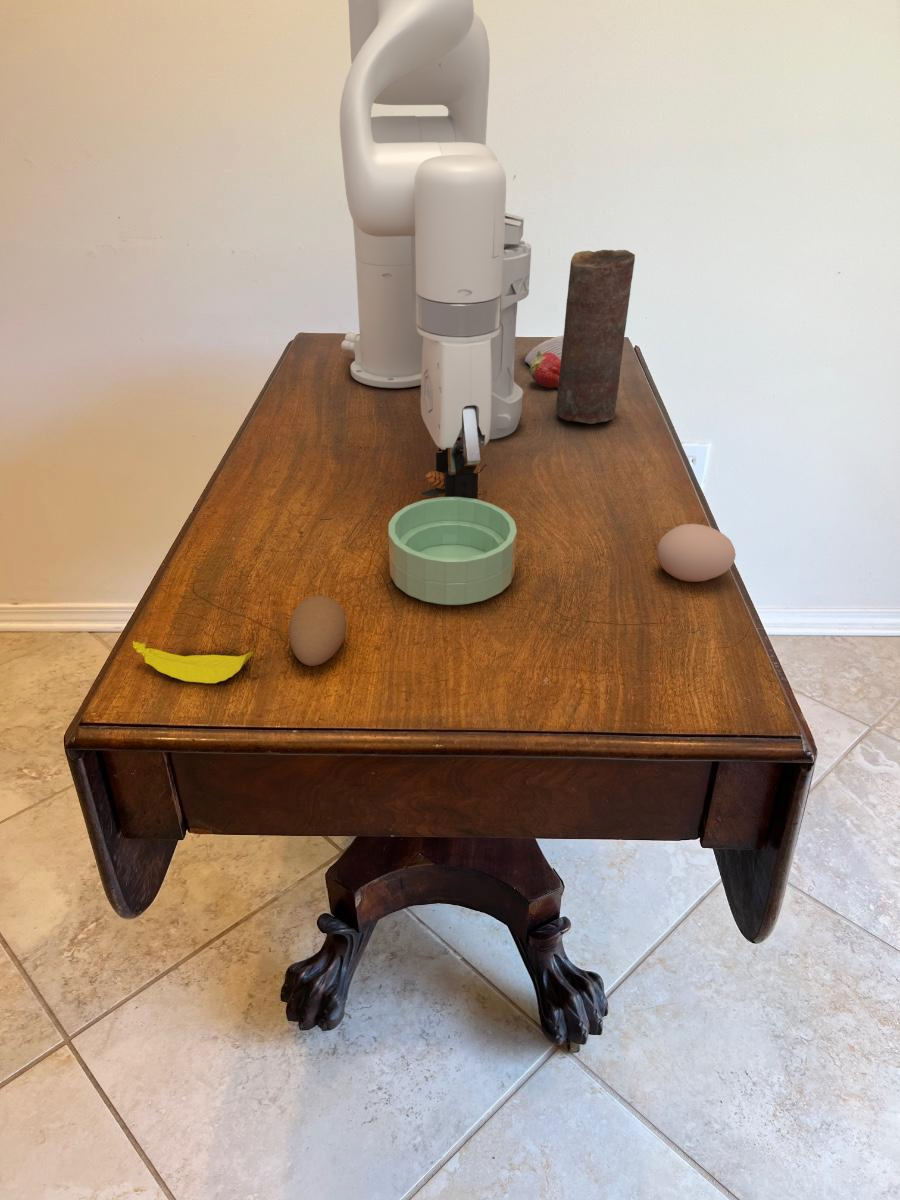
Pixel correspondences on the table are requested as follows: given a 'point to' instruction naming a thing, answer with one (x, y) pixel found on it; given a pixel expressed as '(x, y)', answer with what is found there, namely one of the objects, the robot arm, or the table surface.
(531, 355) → the seashell
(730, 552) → the egg
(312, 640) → the egg
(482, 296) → the robot arm
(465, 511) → the bowl
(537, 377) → the fruit
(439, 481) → the insect
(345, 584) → the table surface
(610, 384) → the candle
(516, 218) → the lantern
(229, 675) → the yellow banana
